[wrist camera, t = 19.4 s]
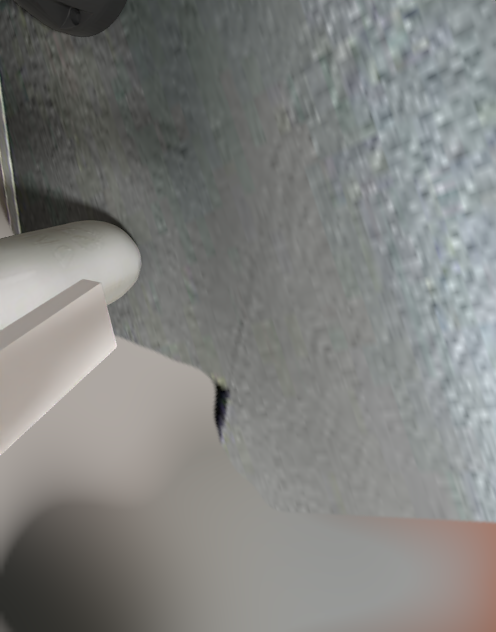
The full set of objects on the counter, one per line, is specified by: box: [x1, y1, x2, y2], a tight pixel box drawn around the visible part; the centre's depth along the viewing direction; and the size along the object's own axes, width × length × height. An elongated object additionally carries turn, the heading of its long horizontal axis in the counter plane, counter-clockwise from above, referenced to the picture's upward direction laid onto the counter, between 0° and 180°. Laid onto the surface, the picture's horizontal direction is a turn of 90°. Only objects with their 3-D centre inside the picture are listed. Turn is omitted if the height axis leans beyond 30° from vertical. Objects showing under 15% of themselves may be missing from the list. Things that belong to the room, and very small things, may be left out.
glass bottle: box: [0, 220, 142, 330], centre depth 37 cm, size 10×10×28 cm
